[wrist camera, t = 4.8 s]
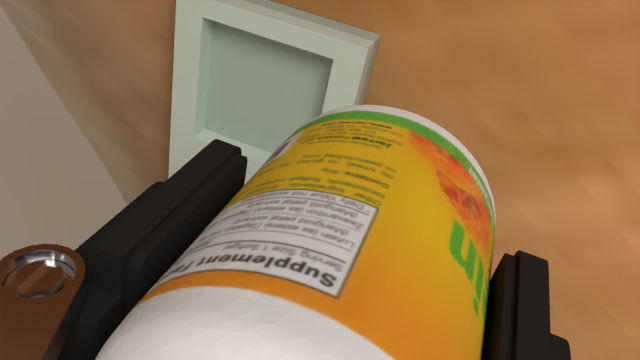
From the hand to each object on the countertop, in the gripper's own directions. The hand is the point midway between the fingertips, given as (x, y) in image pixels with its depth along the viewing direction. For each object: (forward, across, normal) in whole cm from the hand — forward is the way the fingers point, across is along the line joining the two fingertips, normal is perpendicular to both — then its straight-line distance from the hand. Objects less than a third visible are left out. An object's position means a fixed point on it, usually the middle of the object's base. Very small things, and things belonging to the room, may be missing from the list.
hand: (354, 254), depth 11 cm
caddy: (+18, +8, +10) cm, 22 cm away
